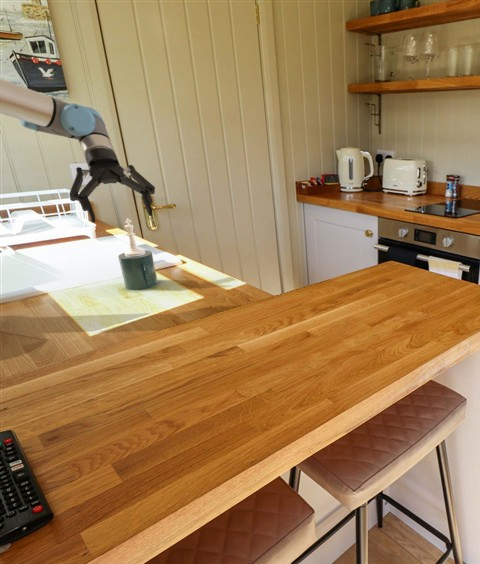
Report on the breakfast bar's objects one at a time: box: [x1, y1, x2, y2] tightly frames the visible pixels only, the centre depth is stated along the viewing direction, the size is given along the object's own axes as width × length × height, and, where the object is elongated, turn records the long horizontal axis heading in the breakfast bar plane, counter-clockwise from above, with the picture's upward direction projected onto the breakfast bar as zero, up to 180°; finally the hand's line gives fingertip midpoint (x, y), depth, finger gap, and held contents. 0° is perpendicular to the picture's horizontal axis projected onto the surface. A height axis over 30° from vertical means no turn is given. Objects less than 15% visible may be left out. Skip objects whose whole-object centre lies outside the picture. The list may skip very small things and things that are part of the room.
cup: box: [117, 249, 159, 291], centre depth 118 cm, size 10×8×9 cm
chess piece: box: [124, 217, 146, 257], centre depth 115 cm, size 5×5×10 cm
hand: (123, 216), depth 116 cm, fingers open, 13 cm apart
